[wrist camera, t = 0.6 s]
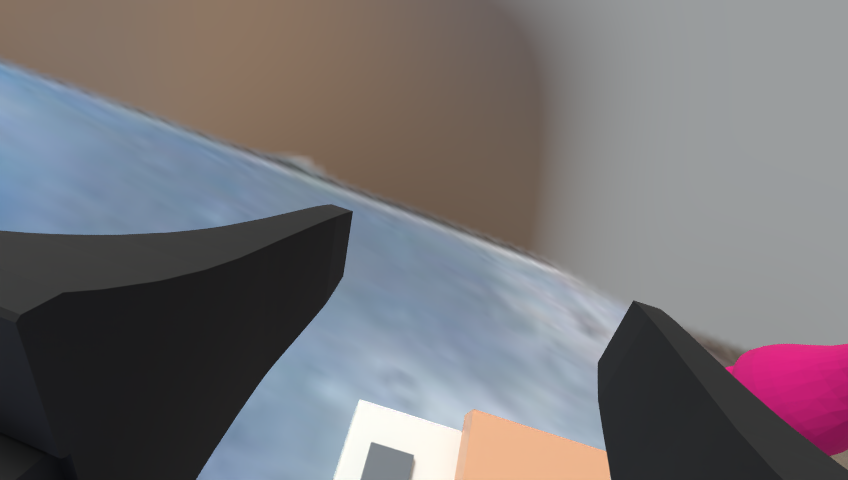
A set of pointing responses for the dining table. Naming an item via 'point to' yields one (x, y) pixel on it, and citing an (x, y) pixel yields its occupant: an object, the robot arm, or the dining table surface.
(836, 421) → the pepper mill
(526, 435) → the key terracotta
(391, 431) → the white flat slab
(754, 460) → the robot arm
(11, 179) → the dining table surface
